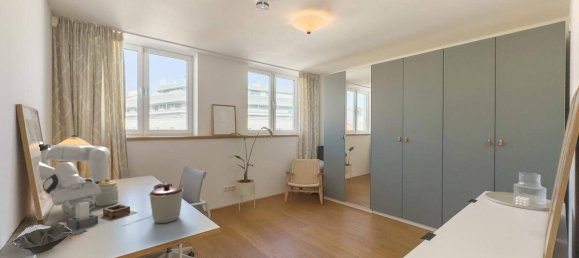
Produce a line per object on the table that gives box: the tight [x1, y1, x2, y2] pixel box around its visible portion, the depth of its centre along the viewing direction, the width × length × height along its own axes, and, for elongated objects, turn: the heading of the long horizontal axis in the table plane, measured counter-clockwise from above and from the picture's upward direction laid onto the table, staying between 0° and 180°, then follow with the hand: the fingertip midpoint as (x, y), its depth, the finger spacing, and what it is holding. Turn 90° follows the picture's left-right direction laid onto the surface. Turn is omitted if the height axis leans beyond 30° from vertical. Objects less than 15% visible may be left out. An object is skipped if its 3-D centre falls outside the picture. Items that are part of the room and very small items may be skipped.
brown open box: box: [96, 203, 139, 222], centre depth 145 cm, size 18×15×5 cm
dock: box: [63, 212, 108, 236], centre depth 129 cm, size 18×15×5 cm
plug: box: [75, 201, 90, 221], centre depth 129 cm, size 5×4×12 cm
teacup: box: [60, 200, 95, 218], centre depth 145 cm, size 15×12×8 cm
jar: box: [95, 178, 120, 207], centre depth 168 cm, size 13×13×18 cm
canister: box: [148, 183, 185, 224], centre depth 138 cm, size 18×18×21 cm
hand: (83, 205), depth 129 cm, fingers open, 8 cm apart
